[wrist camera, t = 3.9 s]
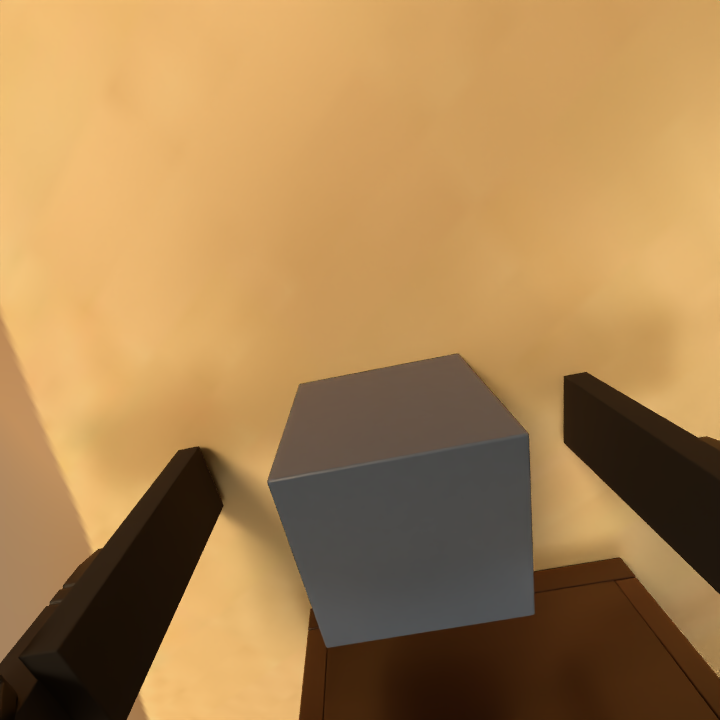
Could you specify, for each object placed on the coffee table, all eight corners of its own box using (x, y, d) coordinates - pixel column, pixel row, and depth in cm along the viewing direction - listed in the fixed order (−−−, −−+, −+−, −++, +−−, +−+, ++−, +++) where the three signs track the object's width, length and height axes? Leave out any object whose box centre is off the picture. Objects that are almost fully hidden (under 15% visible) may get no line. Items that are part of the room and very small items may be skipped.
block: (298, 383, 12) (265, 481, 7) (458, 352, 12) (530, 434, 7) (333, 508, 14) (325, 649, 9) (472, 483, 14) (535, 615, 9)
